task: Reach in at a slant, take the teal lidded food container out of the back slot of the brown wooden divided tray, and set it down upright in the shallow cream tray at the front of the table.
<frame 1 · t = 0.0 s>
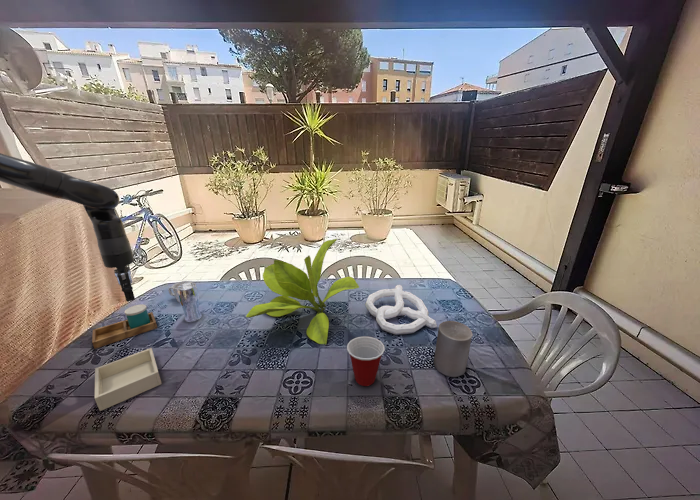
hand: (129, 295, 91), 19 cm above the table, tool pointing down, fingers open, 8 cm apart
container: (141, 327, 104), point 1 cm above the table, touching brown wooden divided tray
brown wooden divided tray: (127, 333, 101), on the table
pretzel: (398, 316, 113), on the table
pillar candle: (449, 366, 86), on the table
shallow cream tray: (130, 383, 79), on the table
cup: (182, 300, 124), on the table
plastic cup: (364, 379, 81), on the table
beer glass: (193, 319, 110), on the table
artificial plant: (303, 319, 111), on the table
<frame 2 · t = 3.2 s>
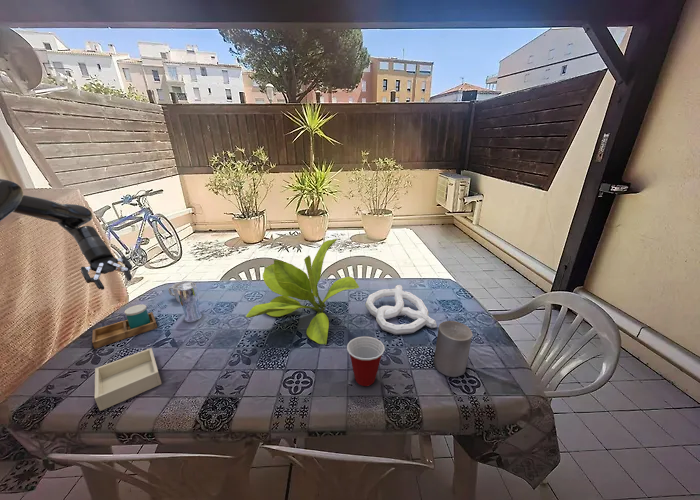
hand: (117, 284, 104), 16 cm above the table, tool tilted 45°, fingers open, 8 cm apart
nothing on the table moved.
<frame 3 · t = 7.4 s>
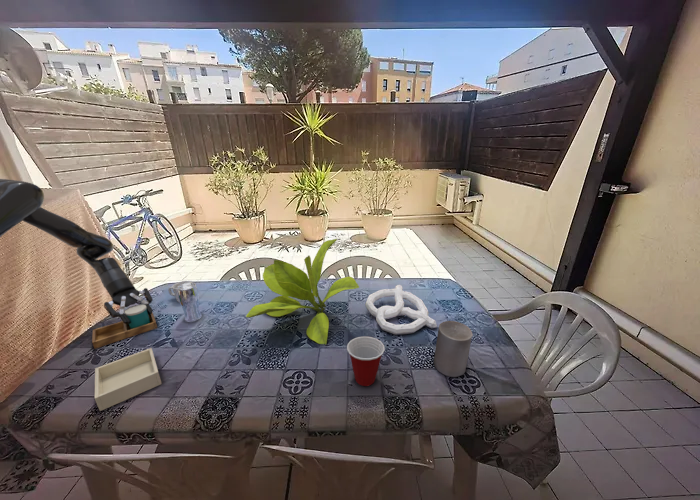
hand: (140, 318, 101), 5 cm above the table, tool tilted 45°, fingers closed on container, 6 cm apart
container: (141, 326, 104), point 1 cm above the table, touching brown wooden divided tray, gripper
everything else where it was.
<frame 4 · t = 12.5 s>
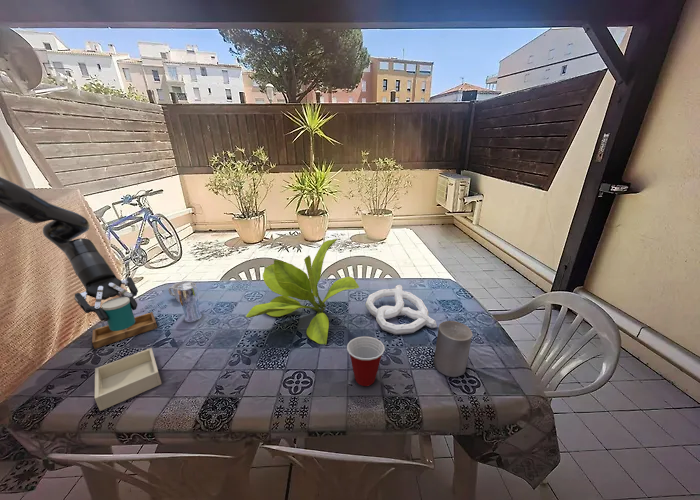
hand: (121, 314, 81), 18 cm above the table, tool tilted 45°, fingers closed on container, 6 cm apart
container: (122, 324, 83), point 14 cm above the table, touching gripper
everything else where it was.
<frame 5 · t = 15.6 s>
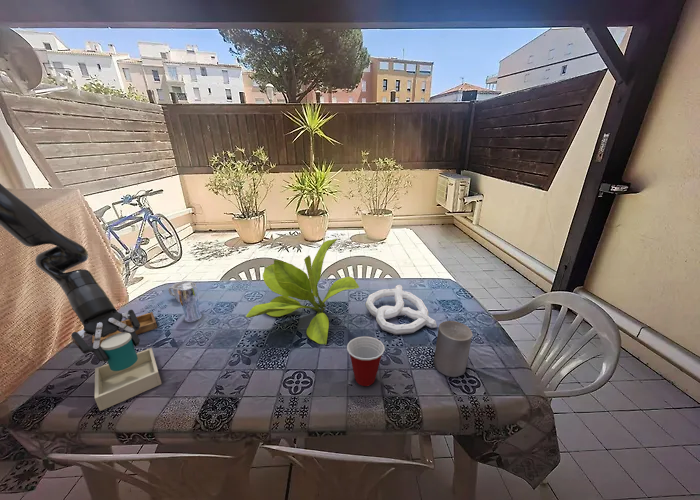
hand: (122, 352, 75), 12 cm above the table, tool tilted 45°, fingers closed on container, 6 cm apart
container: (124, 362, 77), point 7 cm above the table, touching gripper
everything else where it was.
when the fingers open (5 cm above the table, at t = 18.0 s): container stays where it is, resting on shallow cream tray.
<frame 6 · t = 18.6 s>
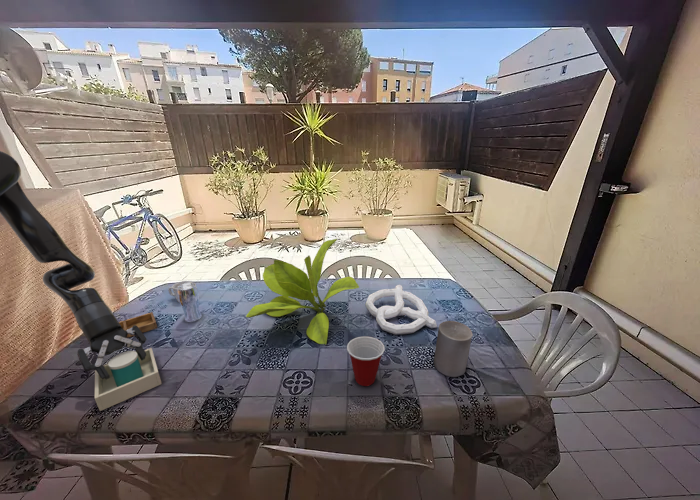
hand: (126, 368, 77), 6 cm above the table, tool tilted 45°, fingers open, 8 cm apart
container: (130, 380, 79), point 1 cm above the table, touching shallow cream tray
everything else where it was.
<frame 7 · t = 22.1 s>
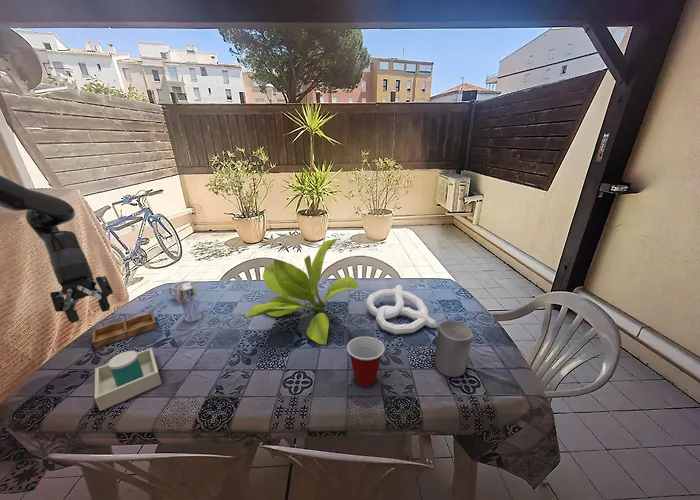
hand: (91, 316, 81), 17 cm above the table, tool tilted 30°, fingers open, 8 cm apart
nothing on the table moved.
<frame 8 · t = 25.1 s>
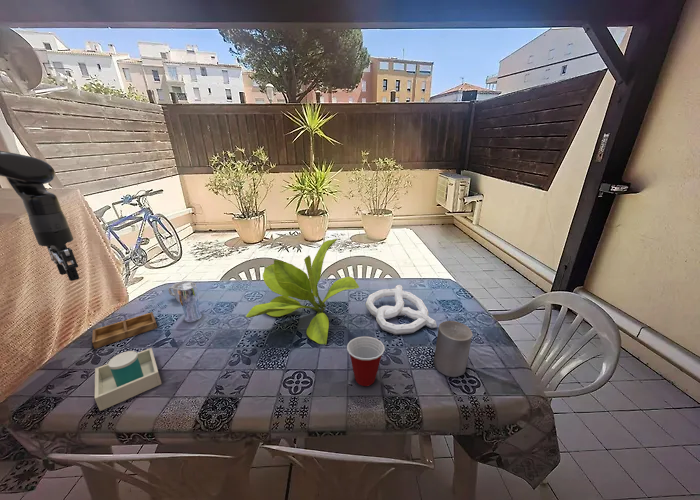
hand: (69, 276, 87), 26 cm above the table, tool pointing down, fingers open, 8 cm apart
nothing on the table moved.
at the end: container inside the target area in the shallow cream tray (0.1 cm from its centre), point 0.8 cm above the shallow cream tray's base; container tilted 0°; the gripper is holding nothing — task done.
